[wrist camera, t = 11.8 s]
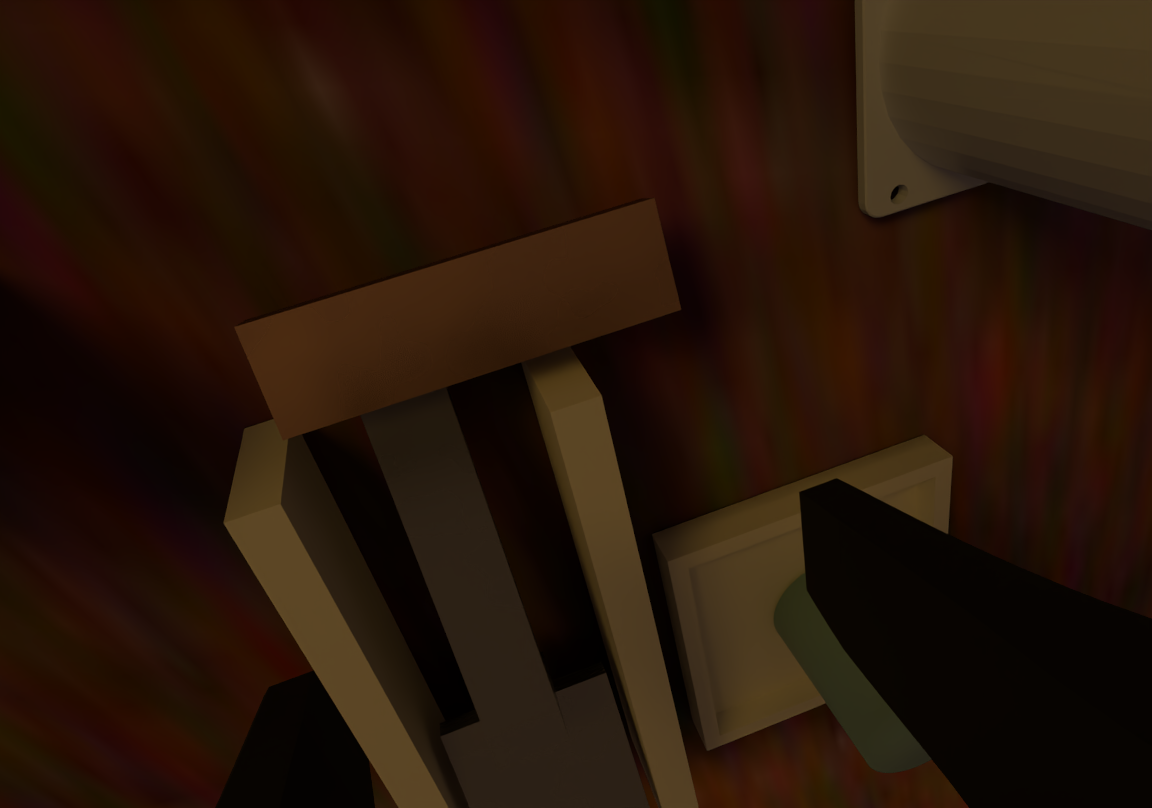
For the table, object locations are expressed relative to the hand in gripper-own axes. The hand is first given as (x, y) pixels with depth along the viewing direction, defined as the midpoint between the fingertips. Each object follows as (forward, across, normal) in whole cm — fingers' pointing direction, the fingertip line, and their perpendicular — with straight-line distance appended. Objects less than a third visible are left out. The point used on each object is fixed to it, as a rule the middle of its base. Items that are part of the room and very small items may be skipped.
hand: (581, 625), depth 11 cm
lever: (+9, 0, +7) cm, 12 cm away
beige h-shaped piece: (+10, +2, +9) cm, 14 cm away
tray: (+10, -8, +14) cm, 19 cm away
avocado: (+10, -9, +14) cm, 19 cm away
